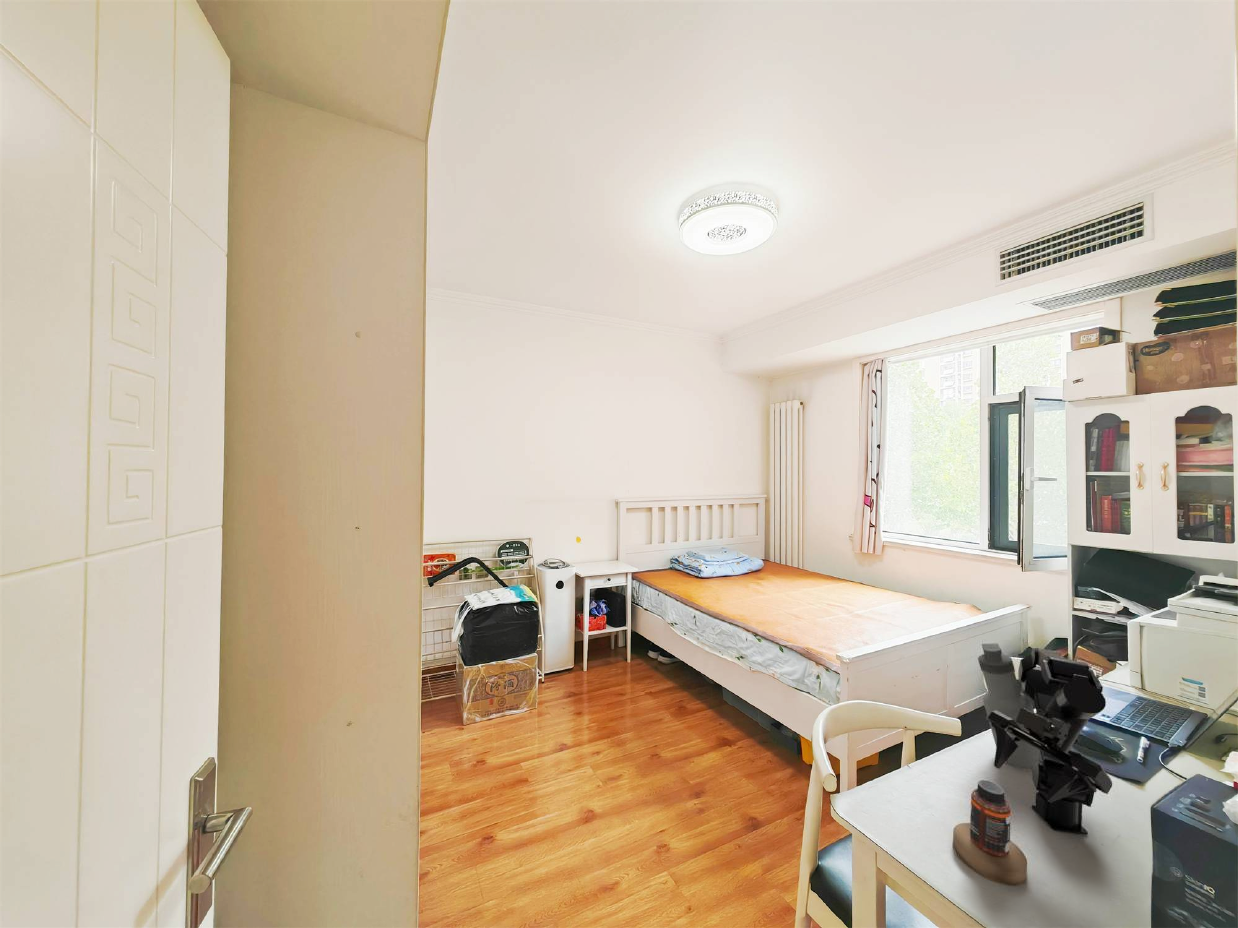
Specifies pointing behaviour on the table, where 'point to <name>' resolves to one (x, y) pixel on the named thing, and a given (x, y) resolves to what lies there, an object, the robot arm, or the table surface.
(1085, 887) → the table surface
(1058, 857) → the table surface
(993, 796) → the supplement bottle
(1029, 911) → the table surface
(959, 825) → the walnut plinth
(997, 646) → the water bottle
